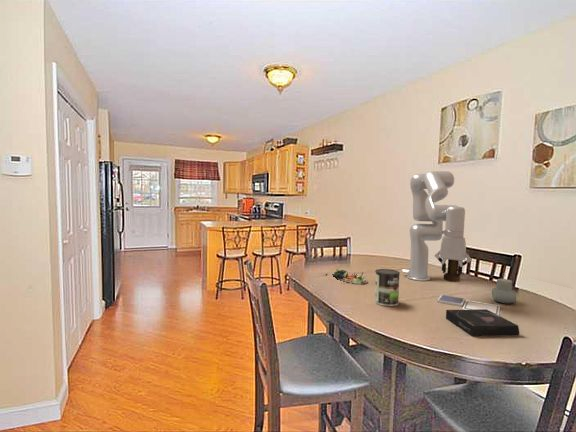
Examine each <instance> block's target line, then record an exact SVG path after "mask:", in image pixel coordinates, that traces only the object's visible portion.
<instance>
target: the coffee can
mask: <svg viewBox="0 0 576 432" xmlns="http://www.w3.org/2000/svg"><path fill="white" fill-rule="evenodd" d="M374 272H375V283H374V303H375V304H377V305H380V306H384V307H396V306H398V305H399V298H400V297H399V294H400V292H399V291H400V274H401V273H400V271H398V270H395V269H390V268H379V269H378V268H377V269H376V270H375V271H374Z"/></svg>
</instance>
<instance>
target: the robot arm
mask: <svg viewBox="0 0 576 432" xmlns="http://www.w3.org/2000/svg"><path fill="white" fill-rule="evenodd" d="M409 182H410V183H409V185H410V190H411V194H412V217H413V220H414V221H416V222H431V223H414V224H412V225H411V226H410V228H409V236H410V262H409V266H410V267H409V269H405V268H404V269H402V273H403V274H406V278H407V279H410V280H412V281H418V282H424V281H425V282H427V281H430V280H431V276H429V275H428V274H429V247H428V244H426V242H427V241H430V242H431V241H434V242H435V241H440V240H441V241H440V242H441V243H440V250H439V251H438V252H437V253H435V254H434V257H435V258H436V259H437V260H438V262H439V263H440V264H441V272H442V274H445V273H447V263H446V262H447V261H448V260H456V261H458V266H457V274H458V276H460V277H461V275H462V274H463V268H464V266H466V265H467V264H469V263H470V262H472V258H471V257H470V255H469V254H468V253H467V243H466V238H465V237H464V233H465V230H464V229H465V219H466V210H465V208H464V207H463V206H458V205H456V204H455V205H453V204H452V205H451V204H450V205H448V204H435V203H438V202H439V201H442V200H444V199H446V197H447V196H448V194H449V190H448V189H450V188H452V186H453V185H454V184H455V176H454V174H453V173H452V172H450V171H445V170H443V171H442V170H438V171H437V170H436V171H435V170H432V171H428V172H427V173H416V174H414V175H412V177H411V178H410V181H409ZM426 190H427V191H428V192H427V191H426ZM444 222H445V226H443V225H444ZM443 228H444V229H443ZM443 235H444V236H443ZM425 241H426V242H425ZM465 259H466V260H465Z"/></svg>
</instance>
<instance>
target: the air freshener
mask: <svg viewBox="0 0 576 432" xmlns="http://www.w3.org/2000/svg"><path fill="white" fill-rule="evenodd" d="M491 298H492V299H493V301H494V302H497V303H501V304H507V305H509V304H514V303H515V302H517V300H518V299H517V292H515V291H514V290H513V281H512V280H511V279H506V278H498V279H496V287H494V288H493V289H491Z"/></svg>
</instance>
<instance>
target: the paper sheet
mask: <svg viewBox="0 0 576 432" xmlns="http://www.w3.org/2000/svg"><path fill="white" fill-rule="evenodd" d="M475 309H487V310H489V311H491V312H493V313H495V314H497V315H499V316H500V311H501V310H500V309H501V305H499V304H492V303H486V302H479V301H473V300H469V299H465V302H464V304H463V306H462V307H461V310H475Z"/></svg>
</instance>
